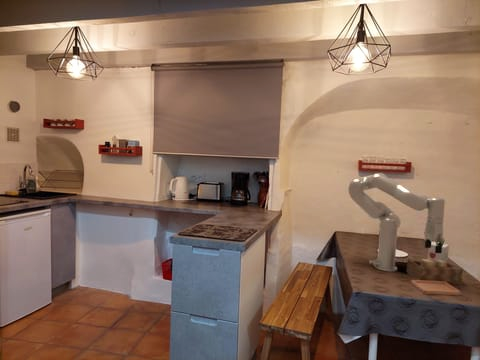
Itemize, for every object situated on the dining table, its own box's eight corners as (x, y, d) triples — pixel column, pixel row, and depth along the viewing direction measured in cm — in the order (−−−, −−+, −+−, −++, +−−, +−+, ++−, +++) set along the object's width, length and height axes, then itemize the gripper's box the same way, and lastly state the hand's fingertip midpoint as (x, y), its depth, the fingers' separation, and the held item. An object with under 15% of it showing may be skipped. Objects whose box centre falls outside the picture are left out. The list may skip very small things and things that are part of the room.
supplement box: (426, 267, 197) (428, 243, 196) (430, 264, 204) (432, 241, 202) (443, 271, 191) (445, 247, 190) (447, 268, 197) (449, 244, 196)
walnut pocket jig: (419, 282, 174) (420, 267, 173) (406, 272, 188) (407, 259, 187) (461, 284, 173) (462, 269, 173) (445, 274, 187) (446, 260, 187)
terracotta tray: (424, 293, 159) (424, 290, 159) (410, 283, 172) (410, 279, 172) (460, 295, 159) (461, 291, 159) (444, 284, 172) (444, 281, 172)
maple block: (424, 272, 178) (425, 261, 177) (420, 269, 182) (421, 258, 182) (446, 273, 178) (447, 262, 177) (441, 270, 182) (442, 259, 182)
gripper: (419, 216, 186) (417, 245, 187) (437, 223, 169) (435, 255, 170) (432, 217, 186) (430, 246, 187) (452, 223, 169) (449, 255, 170)
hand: (432, 250), depth 179 cm, fingers open, 9 cm apart
